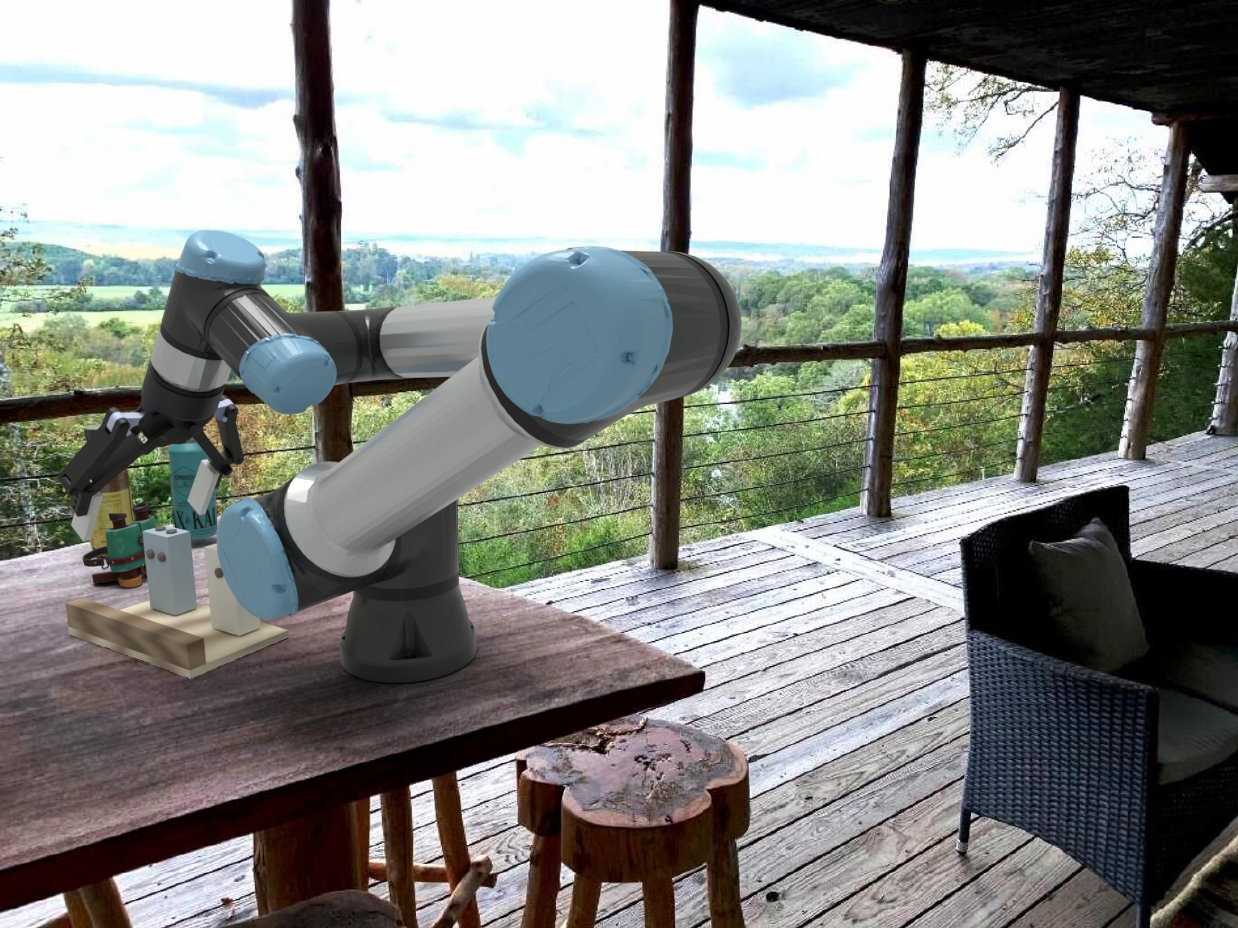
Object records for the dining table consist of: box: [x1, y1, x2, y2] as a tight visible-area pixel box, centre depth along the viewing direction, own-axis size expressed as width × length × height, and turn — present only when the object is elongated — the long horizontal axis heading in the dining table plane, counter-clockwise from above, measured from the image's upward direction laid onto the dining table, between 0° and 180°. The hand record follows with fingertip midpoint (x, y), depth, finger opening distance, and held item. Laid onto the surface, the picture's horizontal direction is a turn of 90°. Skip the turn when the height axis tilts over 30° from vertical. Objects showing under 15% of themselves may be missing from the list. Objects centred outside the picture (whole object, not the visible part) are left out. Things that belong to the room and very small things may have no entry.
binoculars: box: [82, 501, 157, 588], centre depth 127 cm, size 9×11×10 cm
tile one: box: [204, 542, 261, 636], centre depth 107 cm, size 5×3×10 cm, turn 60°
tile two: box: [142, 525, 198, 615], centre depth 113 cm, size 5×3×10 cm, turn 60°
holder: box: [65, 597, 290, 680], centre depth 108 cm, size 23×13×4 cm, turn 60°
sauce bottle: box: [83, 423, 136, 558], centre depth 137 cm, size 7×6×20 cm
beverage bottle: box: [167, 427, 219, 541], centre depth 143 cm, size 6×7×20 cm
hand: (141, 519), depth 105 cm, fingers open, 13 cm apart
